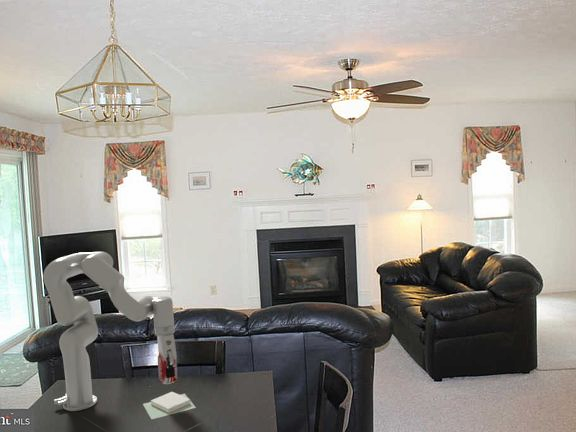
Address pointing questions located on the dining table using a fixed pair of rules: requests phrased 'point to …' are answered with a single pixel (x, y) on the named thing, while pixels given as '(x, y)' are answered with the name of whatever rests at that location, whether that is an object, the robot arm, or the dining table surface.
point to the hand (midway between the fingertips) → (167, 373)
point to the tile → (170, 402)
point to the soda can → (162, 370)
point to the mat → (158, 413)
